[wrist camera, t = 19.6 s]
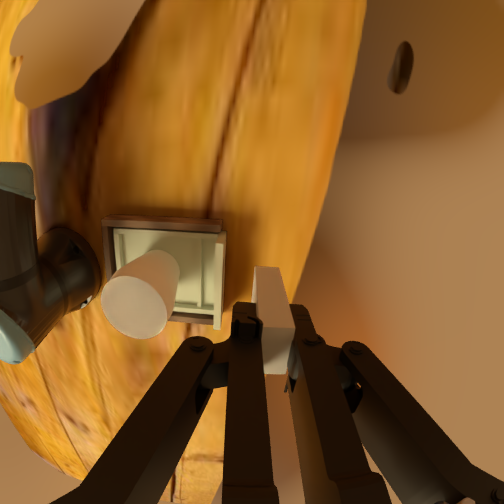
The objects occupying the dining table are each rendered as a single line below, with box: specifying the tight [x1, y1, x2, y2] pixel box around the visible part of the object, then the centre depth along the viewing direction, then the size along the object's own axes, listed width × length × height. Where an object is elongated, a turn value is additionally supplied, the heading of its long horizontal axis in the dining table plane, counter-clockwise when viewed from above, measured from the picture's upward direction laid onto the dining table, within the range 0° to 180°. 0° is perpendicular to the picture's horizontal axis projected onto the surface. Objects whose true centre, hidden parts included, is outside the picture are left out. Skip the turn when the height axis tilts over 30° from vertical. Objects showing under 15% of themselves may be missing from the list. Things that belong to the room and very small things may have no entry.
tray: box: [113, 227, 227, 330], centre depth 40 cm, size 17×13×6 cm
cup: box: [101, 250, 180, 339], centre depth 36 cm, size 9×9×12 cm
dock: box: [101, 215, 223, 325], centre depth 42 cm, size 18×16×3 cm
